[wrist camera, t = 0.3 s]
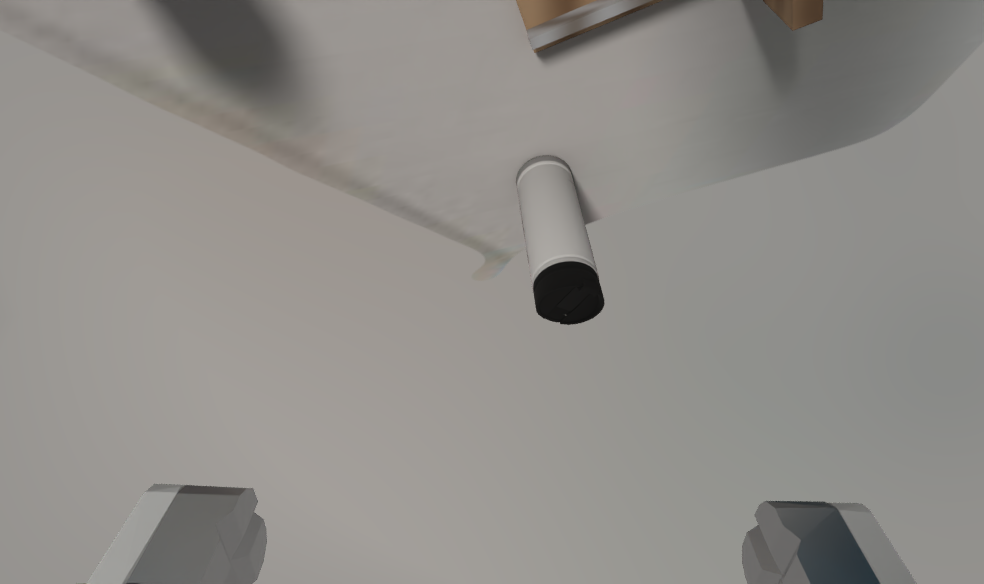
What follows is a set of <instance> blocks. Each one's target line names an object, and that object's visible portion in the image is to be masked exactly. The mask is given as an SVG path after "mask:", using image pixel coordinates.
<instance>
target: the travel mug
mask: <svg viewBox="0 0 984 584" xmlns="http://www.w3.org/2000/svg"><path fill="white" fill-rule="evenodd" d="M516 184H517V190H518V197H519V204H520V210H521V217H522V224H523V230H524V237H525V243H526V250H527V256H528V263H529V269H530V276H531V282H532V289H533V293H534V298H535V305H536V311H537V313H538V315H540V316H541V317H543V318H545V319H547V320H550V321H553V322H560V324H567V325H570V324H578V323H582V322H585V321H587V320H590V319H592V318H594V317H595V316H596V315H598V314H599V313H600V311H601V310H602V309H603V306H604V298H603V294H602V290H601V286H600V283H599V276H598V273H597V269H596V265H595V261H594V257H593V253H592V250H591V246H590V242H589V238H588V235H587V231H586V227H585V223H584V219H583V216H582V212H581V208H580V204H579V201H578V197H577V193H576V189H575V185H574V182H573V178H572V174H571V171H570V168H569V166H568V165H567V164H566V163H565V162H564V161H563V160H561V159H560V158H557V157H554V156H539V157H536V158H533V159H531V160H529V161H528V162H526V163H525V164H524V165H523V166H522V167H521V168H520V170H519V172H518V174H517V177H516Z"/></svg>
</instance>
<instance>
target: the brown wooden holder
mask: <svg viewBox="0 0 984 584" xmlns="http://www.w3.org/2000/svg"><path fill="white" fill-rule="evenodd" d="M516 1H517V4H518V7H519V10H520V13H521V16H522V18H523V21H524V24H525V27H526V30H527V34H528V38H529V41H530V44H531V47H532V50H534V53H536V52H539V51H541V50H543V49H546V48H548V47H551V46H553V45H556V44H558V43H560V42H563V41H565V40H568V39H570V38H573V37H575V36H577V35H580V34H582V33H585V32H587V31H590V30H592V29H594V28H597V27H599V26H602V25H604V24H607V23H609V22H611V21H614V20H616V19H619V18H621V17H624V16H626V15H628V14H631V13H633V12H636V11H638V10H641V9H643V8H645V7H648V6H650V5H653V4H655V3H658V2H660V1H662V0H516ZM763 1H764V2H765V3H766V4H767V5H768V6H769V7H770V8H771V9H772V10H773V11H774V12H775V13H776V14H777V15H778V16H779V17H780V18H781V19H782V20H783V21H784V22H785V24H786V25H787V26H788V27H789V28H790V29H791V30H792V31H793V30H796V29H798V28H801V27H804V26H806V25H809V24H812V23H814V22H817V21H820V20H822V16H823V0H763Z"/></svg>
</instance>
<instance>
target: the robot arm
mask: <svg viewBox="0 0 984 584" xmlns="http://www.w3.org/2000/svg"><path fill="white" fill-rule="evenodd" d="M257 502H258V500H257V498H256V495H255V492H254V490H253V488H235V487H214V486H213V487H212V486H194V485H193V486H192V485H171V484H169V485H168V484H154V485H153V486H152V487H150V488H149V489H148V490H147V491H145V493H144V494H143V495H142V497H141V498H140V500H139V501H138V503H137V505H136V506H135V507H134V509H133V511H132V512H131V514H130V516H129V517H128V519H127V520H126V522H125V523H124V525H123V526H122V528H121V530H120V531H119V533H118V535H117V536H116V538H115V539H114V541H113V542H112V544H111V545H110V547H109V549H108V550H107V552H106V554H105V555H104V557H103V558H102V560H101V561H100V563H99V565H98V566H97V568H96V569H95V571H94V572H93V574H92V576H91V577H90V579H89V580H88V582H87V583H76V584H252V583H253V582H255V581H256V580H257V578H258V575H259V572H260V570H261V567H262V564H263V561H264V555H265V549H266V543H267V537H266V527H265V523H264V520H263V519H262V518H261V517H260V516H258V515H257V514H256V513H254V510H255V507H256V505H257ZM755 517H756V520H757V522H758V524H759V525H758V526H756V527H755V528H753V529H752V530H750V531H748V532H747V534H746V537H745V539H744V542H743V546H742V564H743V568H744V573H745V577H746V580H747V583H748V584H917V583H916V581H915V580H914V578H913V577H912V575H911V574H910V572H909V570H908V569H907V567H906V566H905V564H904V563H903V562H902V560H901V558H900V556H899V555H898V553H897V552H896V550H895V549H894V547H893V545H892V544H891V542H890V541H889V539H888V538H887V536H886V534H885V533H884V531H883V530H882V528H881V526H880V525H879V524H878V522H877V520H876V519H875V517H874V515H873V514H872V512H871V511H870V510H869V509H868V508H867V507H866V506H864V505H863V504H859V503H826V502H808V501H806V502H803V501H798V502H797V501H765V502H763V503H762V504H760V505H759V507H758V509H757V511H756V513H755Z"/></svg>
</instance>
